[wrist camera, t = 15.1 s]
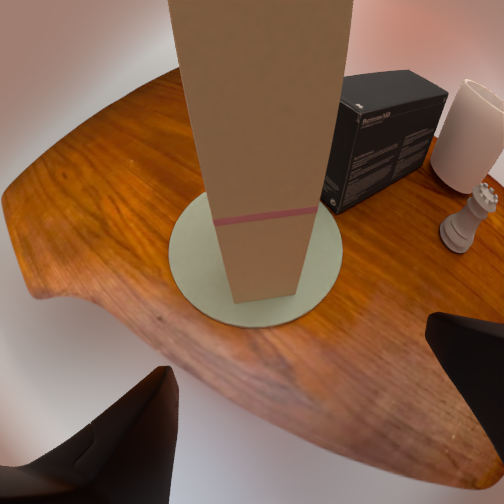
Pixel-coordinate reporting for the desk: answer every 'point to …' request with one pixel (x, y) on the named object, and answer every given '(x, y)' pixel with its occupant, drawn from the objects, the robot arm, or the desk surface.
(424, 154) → the box
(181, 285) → the plate
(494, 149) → the cup
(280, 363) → the desk surface
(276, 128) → the pink-topped tan pillar
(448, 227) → the rook chess piece
